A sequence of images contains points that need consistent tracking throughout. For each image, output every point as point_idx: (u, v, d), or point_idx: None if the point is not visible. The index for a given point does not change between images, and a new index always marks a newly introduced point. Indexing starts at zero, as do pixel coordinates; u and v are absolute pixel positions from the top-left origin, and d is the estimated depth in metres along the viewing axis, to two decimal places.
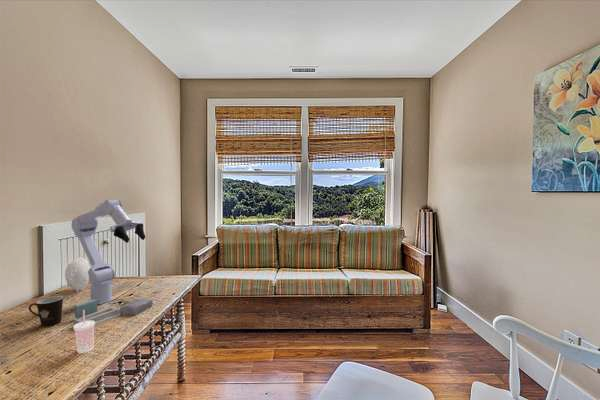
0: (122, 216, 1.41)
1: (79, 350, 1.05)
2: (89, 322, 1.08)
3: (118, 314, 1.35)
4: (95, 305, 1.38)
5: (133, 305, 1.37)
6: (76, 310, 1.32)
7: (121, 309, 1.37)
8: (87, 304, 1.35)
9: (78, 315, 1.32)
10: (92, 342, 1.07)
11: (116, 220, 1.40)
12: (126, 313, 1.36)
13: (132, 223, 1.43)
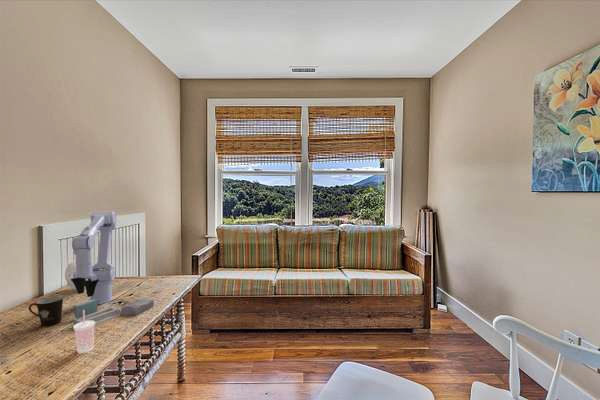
0: (76, 267, 1.32)
1: (79, 350, 1.05)
2: (89, 322, 1.08)
3: (118, 314, 1.35)
4: (95, 305, 1.38)
5: (134, 305, 1.36)
6: (76, 310, 1.32)
7: (122, 309, 1.37)
8: (87, 304, 1.35)
9: (78, 315, 1.32)
10: (92, 342, 1.07)
11: None
12: (127, 313, 1.36)
13: None
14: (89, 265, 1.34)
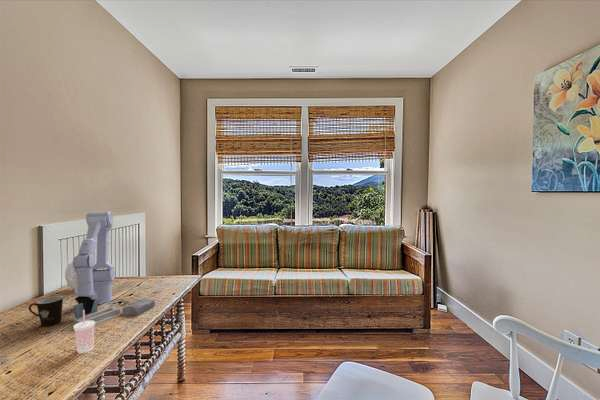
0: (77, 285, 1.33)
1: (79, 350, 1.05)
2: (89, 322, 1.08)
3: (118, 314, 1.35)
4: (95, 305, 1.38)
5: (136, 305, 1.36)
6: (76, 310, 1.32)
7: (124, 309, 1.37)
8: None
9: (78, 315, 1.32)
10: (92, 342, 1.07)
11: None
12: (129, 313, 1.36)
13: None
14: (90, 283, 1.34)
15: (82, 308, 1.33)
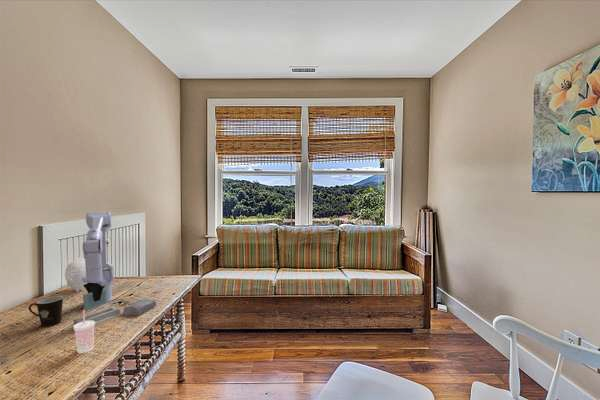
0: None
1: (79, 350, 1.05)
2: (89, 322, 1.08)
3: (118, 314, 1.35)
4: (104, 295, 1.33)
5: (137, 305, 1.36)
6: (85, 299, 1.27)
7: (125, 309, 1.37)
8: None
9: (86, 305, 1.27)
10: (92, 342, 1.07)
11: None
12: (130, 313, 1.36)
13: None
14: (99, 269, 1.29)
15: (91, 298, 1.28)
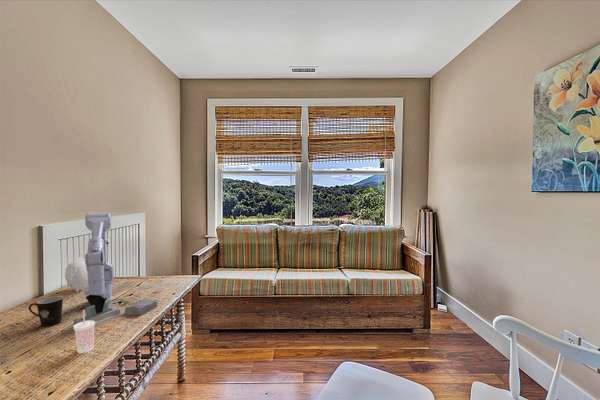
0: (88, 283, 1.28)
1: (79, 350, 1.05)
2: (89, 322, 1.08)
3: (118, 314, 1.35)
4: (106, 307, 1.33)
5: (138, 305, 1.36)
6: (87, 312, 1.27)
7: (126, 310, 1.36)
8: None
9: (89, 317, 1.27)
10: (92, 342, 1.07)
11: None
12: (131, 314, 1.36)
13: None
14: (101, 282, 1.29)
15: (93, 310, 1.28)
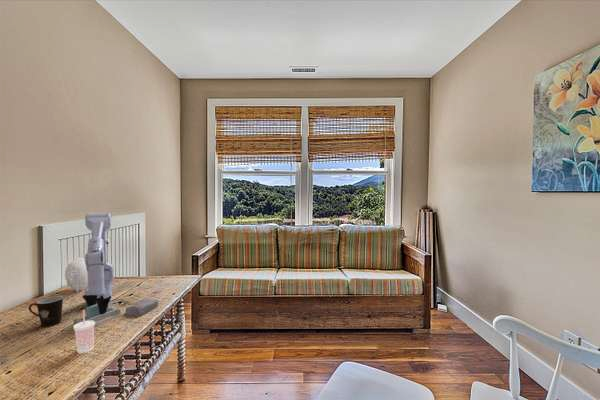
0: (88, 283, 1.28)
1: (79, 350, 1.05)
2: (89, 322, 1.08)
3: (118, 314, 1.35)
4: None
5: (139, 306, 1.36)
6: (87, 312, 1.27)
7: (127, 310, 1.36)
8: None
9: (89, 317, 1.27)
10: (92, 342, 1.07)
11: None
12: (132, 314, 1.35)
13: None
14: (101, 282, 1.29)
15: (93, 310, 1.28)
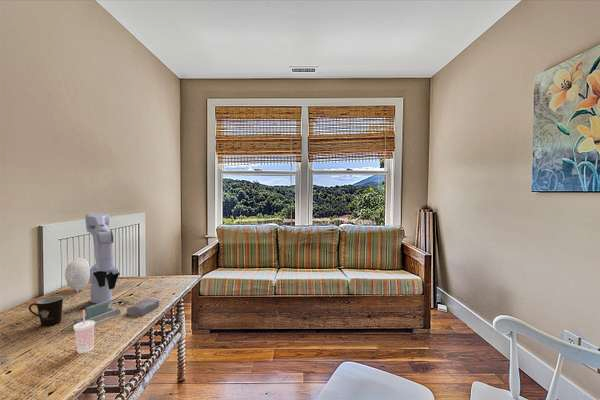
0: (98, 261, 1.38)
1: (79, 350, 1.05)
2: (89, 322, 1.08)
3: (118, 314, 1.35)
4: (106, 307, 1.33)
5: (140, 306, 1.36)
6: (87, 312, 1.27)
7: (128, 310, 1.36)
8: (98, 306, 1.30)
9: (89, 317, 1.27)
10: (92, 342, 1.07)
11: None
12: (133, 314, 1.35)
13: None
14: (110, 259, 1.40)
15: (93, 310, 1.28)
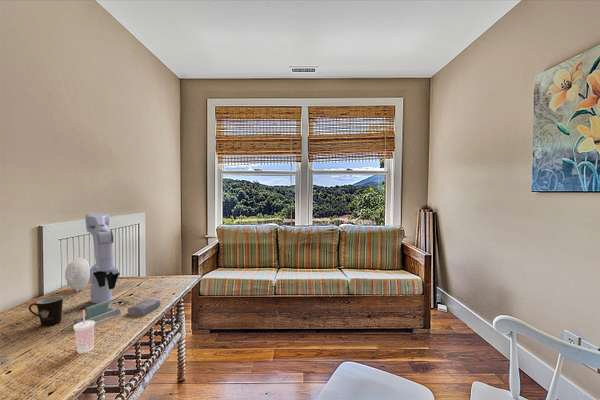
0: (98, 261, 1.38)
1: (79, 350, 1.05)
2: (89, 322, 1.08)
3: (118, 314, 1.35)
4: (106, 307, 1.33)
5: (141, 306, 1.36)
6: (87, 312, 1.27)
7: (129, 310, 1.36)
8: (98, 306, 1.30)
9: (89, 317, 1.27)
10: (92, 342, 1.07)
11: None
12: (134, 314, 1.35)
13: None
14: (110, 259, 1.40)
15: (93, 310, 1.28)
